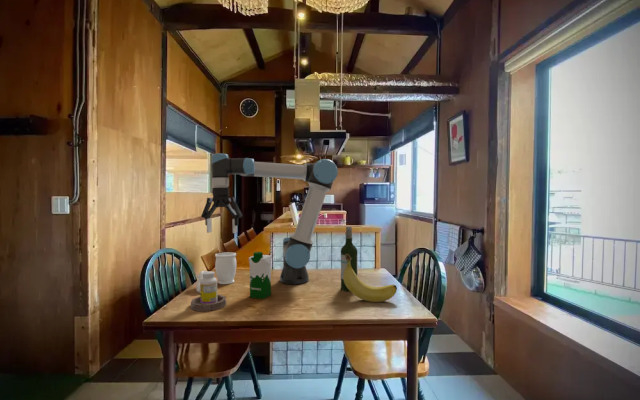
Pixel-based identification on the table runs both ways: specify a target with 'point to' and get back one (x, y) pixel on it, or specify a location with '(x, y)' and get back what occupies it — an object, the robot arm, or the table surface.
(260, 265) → the milk carton
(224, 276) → the jar
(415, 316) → the table surface
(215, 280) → the supplement bottle
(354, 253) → the wine bottle
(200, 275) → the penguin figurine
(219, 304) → the dish
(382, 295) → the banana
